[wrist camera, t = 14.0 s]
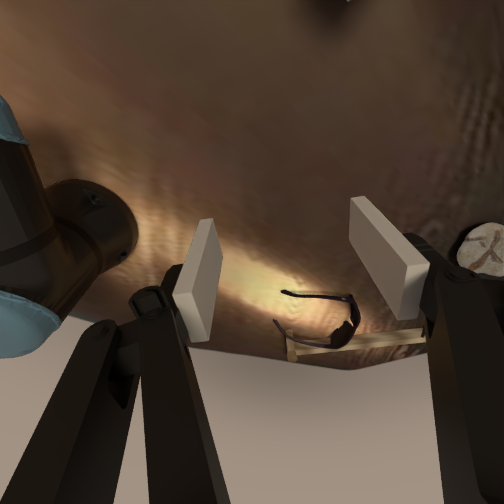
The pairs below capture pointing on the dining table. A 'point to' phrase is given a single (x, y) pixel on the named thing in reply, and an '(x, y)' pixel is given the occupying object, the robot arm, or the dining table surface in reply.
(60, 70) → the dining table surface
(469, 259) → the stone
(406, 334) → the beige long bar
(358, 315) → the sunglasses
